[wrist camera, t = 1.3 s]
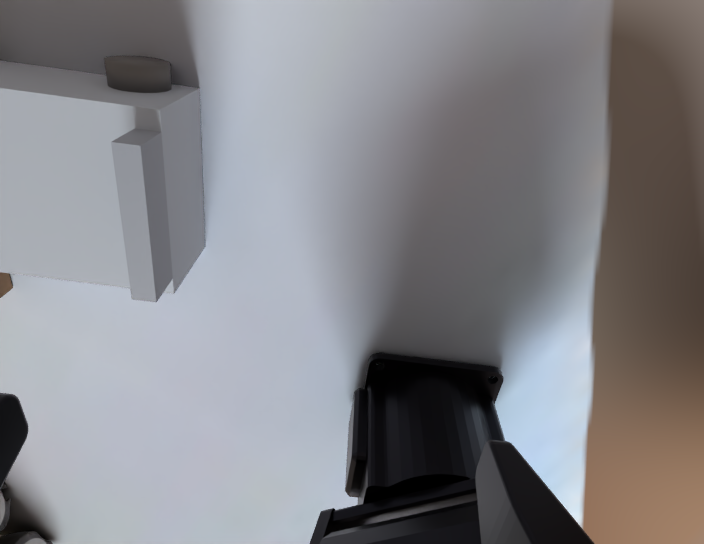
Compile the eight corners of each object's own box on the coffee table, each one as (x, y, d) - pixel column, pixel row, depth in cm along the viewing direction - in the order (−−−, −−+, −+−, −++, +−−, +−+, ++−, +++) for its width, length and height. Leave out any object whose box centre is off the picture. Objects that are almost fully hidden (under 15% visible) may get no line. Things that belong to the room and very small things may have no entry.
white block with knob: (201, 63, 17) (134, 90, 12) (207, 259, 21) (159, 336, 16) (-85, 23, 17) (-266, 34, 12) (-22, 230, 21) (-139, 300, 16)
